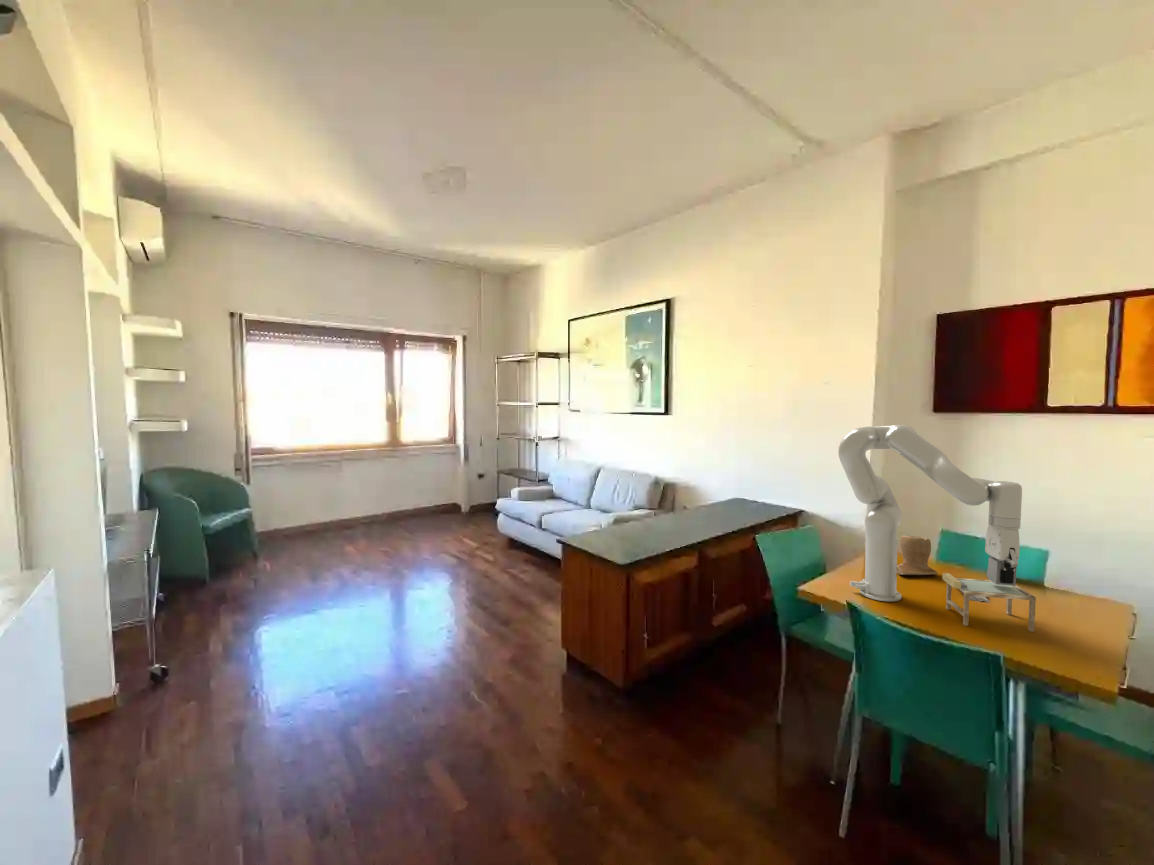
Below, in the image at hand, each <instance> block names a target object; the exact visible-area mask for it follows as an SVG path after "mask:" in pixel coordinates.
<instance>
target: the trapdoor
mask: <svg viewBox="0 0 1154 865" xmlns="http://www.w3.org/2000/svg"><path fill="white" fill-rule="evenodd" d="M956 578H957V577H955V576H953V575H952V574H951V573H948V572H942V578H941V579H942V581H944V582H945V583H946V584H947V583H948V584H949V585H950V586H952V589H958V588H960V589H961V588H963V589H964V590H966V591H974V592H988V593H1001V594H1014V595H1025V594H1023V593H1022V592H1020V591H1019V590H1017V589H1016V588H1014V587H1012V586H1011V585H998V584H995V583H993V582H986V581H972V580H959V579H956ZM960 589H959V590H960Z"/></svg>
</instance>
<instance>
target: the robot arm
mask: <svg viewBox="0 0 1154 865" xmlns="http://www.w3.org/2000/svg"><path fill="white" fill-rule="evenodd" d="M888 449H890V450H893V451H894V452H895V453H897V454H899V455H900V456H901V457H902V458H904V459H905V460H907V461H908V462H910V463H911V464H913V466H915V467H916V468H917V469H919V470H920V471H922V472H923V473H924V474H925V475H926V476H927V477H929V478H930V479H931V480H933V481H934V483H936V484H937V485H938V486H940V488H942V489H943V490H944V491H945V492H947V493H949V495H952V496H953V497H954V498H955V499H956V500H958V501H960V502H961V503H963V504H965V505H969V506H981V505H983V504H984V503H985V502H987V503H988V522H987V523H988V524H987V525H988V526H987V529H986V535H985V545H984V546H985V547H984V552H985V553H986V554H987V555H989V557H994V558H996V559H997V560H1000V561H1001V562H1002V570H1000V582H1001V583H1009V584H1013V581H1014V571H1015V568H1016V566H1017V567H1018V566H1019V559H1020V546H1021V545H1020V533H1019V530H1020V529H1021V523H1022V522H1021V518H1022V500H1023V498H1022V497H1023V486H1022V485H1021V484H1019V483H1018V482H1013V481H1004V480H1002V481H1001V480H997V481H996V480H989V479H983V478H978V477H977V478H976V477H971V476H969V475H968V474H966V473H965V472H964V471H963V470H961V469H960V468H959V467H957V466H956V465H955V464H953V462H952V461H951V460H950V459H949V458H948V456H947V455H946V454H945V452H943V451H942V450H941V449H940V448H938V447H937V446H935V445H934V444H932V443H930V442H929V441H928V440H926V439H924V438H923V437H922V436H920V435H919V434H918V433H917V431H916V430H915V428H913V427H912V426H910V425H908V424H895V425H877V426H876V425H875V426H873V425H872V426H863V427H862V426H861V427H856V428H854V429H852V430H851V431H849V432H848V433H847V434H845V435H844V436H843V438H842V439H841V441H840V443H839V446H838V458H839V461H840V463H841V465H842V468H843V470H844V472H845V473H844V474H845V475H846V477H847V480H848V481H849V482H848V483H849V484H850V486H851V489H852V491H853V492H854V496H855V497H856V499H857V500H858V501H859V502H860V503H862V504H865V505H866V506H867V508H868V510H869V511H868V512H867V513H866V515H865V518H864V536H865V560H864V561H865V564H864V565H865V566H864V567H865V568H864V569H865V570H864V578H862V580H859V581H855V580H850V581H849V585H850V587H855V589H859V593H860V595H862V596H864V597H866V598H869V599H871V600H876V601H881V602H886V603H887V602H889V603H890V602H898V601H900V600H902V594H901V593H900V591H898V590H897V576H898V574H897V565H898V533H897V532H898V527H899V526H900V524H901V523H902V519H903V514H902V511H901V509H900V508H901V507H900V506H899V504H898V502H897V500H896V497H895V496H894V493H893V491H892V489H891V487H890V485H889V484H888V482H887V481H886V480H885V479H884V478H883V477H882V476H880V475H876V474H875V471H874V470H873V467H872V465H871V463H870V461H869V459H868V458H867V455H866V452H867V451H869V450H888ZM1006 558H1009V559H1010V560H1006ZM1006 562H1010V563H1009V564H1007V565H1006Z"/></svg>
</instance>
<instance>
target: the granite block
mask: <svg viewBox="0 0 1154 865" xmlns="http://www.w3.org/2000/svg"><path fill="white" fill-rule="evenodd" d="M1006 560H1010V559H1008V558H1006ZM1009 563H1010V562H1006V565H1007V564H1009ZM987 566H988V567H987V570H988V577H987V579H988V580H990V581H992V582H993V583H995V584H998V585H1011V586H1016V585H1017V570H1018V569H1017V568H1018V566H1016V568H1015V571H1014V581H1013V584H1009V583H1001V582H1000V570H1002V562H1001V561H1000V560H997V559H996V558H994V557H990V556H988V565H987Z"/></svg>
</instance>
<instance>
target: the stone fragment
mask: <svg viewBox="0 0 1154 865" xmlns="http://www.w3.org/2000/svg"><path fill="white" fill-rule="evenodd" d="M957 589H958V590H960V591H961V592H962V594H963V595H964V591H966V590H964V589H963V588H961V589H960V588H957ZM969 601H974V602H984V603H985V602H986V603H989V604H990V603H991V601H990V599H988V597H983V596H970V595H969Z"/></svg>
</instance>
